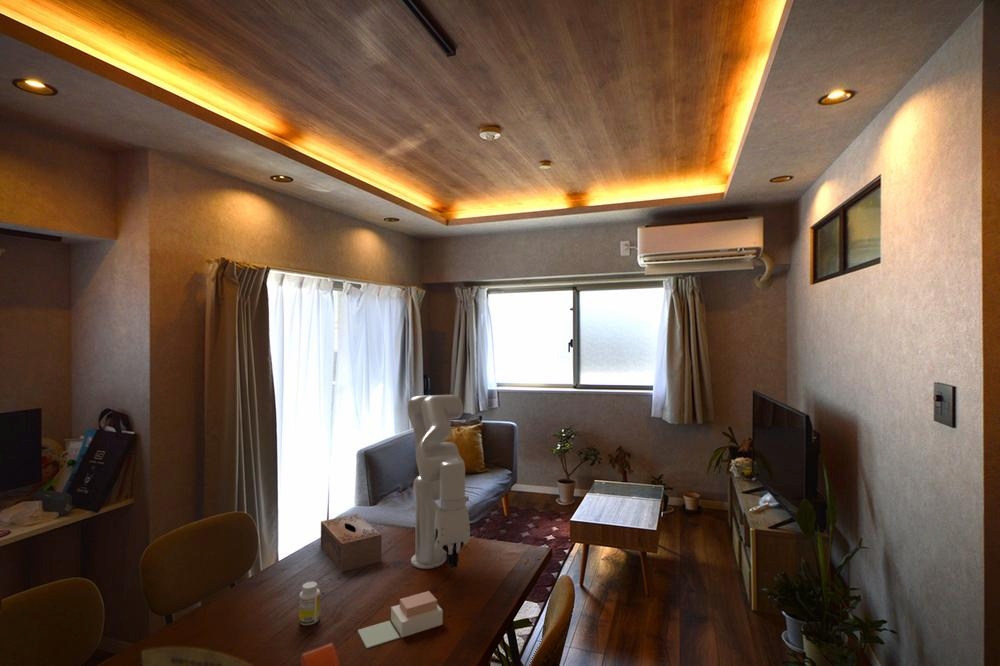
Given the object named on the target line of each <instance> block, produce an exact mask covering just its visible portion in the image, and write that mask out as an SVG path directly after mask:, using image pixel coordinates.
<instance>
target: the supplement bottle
mask: <svg viewBox="0 0 1000 666" xmlns="http://www.w3.org/2000/svg"><path fill="white" fill-rule="evenodd" d="M301 587H302V588H301V591H300V592H299V597H298V600H299V603H298V604H299V606H298V607H299V611H298V614H299V617H298V618H299V620H298V621H299V623H300V624H301V625H303V626H311V625H314V624H317V623H318V622H319V620H320V618H321V591H320V589H319V588H318V583H317V581H308V582H305V583H304V584H302V586H301Z"/></svg>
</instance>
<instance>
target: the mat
mask: <svg viewBox="0 0 1000 666" xmlns="http://www.w3.org/2000/svg"><path fill="white" fill-rule="evenodd" d="M357 633H358V635H359V637H360V639H361V640H362V643H363V645H364V647H365V649H370V648H373V647H376V646H380V645H382V644H385V643H389V642H392V641H394V640H398V639H401V636H400V634H399V633H398V631H397V630H396V628H395V626H394V625H393V623H392V622H391V620H386V621H383V622H379V623H376V624H374V625H373V624H372V625H370V626H366V627H363V628H359V629H357Z"/></svg>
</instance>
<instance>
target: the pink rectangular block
mask: <svg viewBox="0 0 1000 666" xmlns="http://www.w3.org/2000/svg"><path fill="white" fill-rule="evenodd" d="M437 604H438V599H437V598H436V597H435V595H433V594H432V593H431V592H430V590H427V591H423V592H420V593H416V594H413V595H410V596H405V597H402V598H399V605H400V609H401V610H402V612H403V613H404V614H405V616H406V617H407V618H408V617H411V616H414V615H418V614H421V613H424V612H428V611H431V610H434V609H437Z"/></svg>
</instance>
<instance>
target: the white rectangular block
mask: <svg viewBox="0 0 1000 666" xmlns="http://www.w3.org/2000/svg"><path fill="white" fill-rule="evenodd" d="M443 616H444V615H443V609H442V608H441V606H440V605H439V604H438V603H437V609H434V610H431V611H428V612H424V613H421V614H418V615H414V616H411V617H408V618H407V617H406V616H405V614H404V613H403V612H402V610H401V609H400V604H397V605H394V606H390V622H391V624H392V625H393V627H394V629H395V630H396V632H397V633H398V635H399V636H400V638H404V637H408V636H411V635H414V634H417V633H420V632H423V631H426V630H429V629H433V628H436V627H440V626H441V625H443Z"/></svg>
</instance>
